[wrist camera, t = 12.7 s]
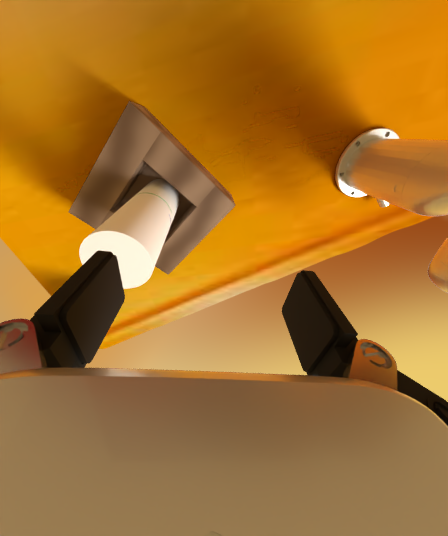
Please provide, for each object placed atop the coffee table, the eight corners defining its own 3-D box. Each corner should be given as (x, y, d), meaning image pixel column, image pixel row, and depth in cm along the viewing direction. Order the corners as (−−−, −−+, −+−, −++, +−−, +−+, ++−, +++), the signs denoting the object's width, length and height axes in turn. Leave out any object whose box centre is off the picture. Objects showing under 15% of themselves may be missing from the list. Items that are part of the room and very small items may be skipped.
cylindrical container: (147, 213, 43) (92, 288, 22) (142, 178, 38) (67, 229, 18) (180, 214, 43) (157, 288, 23) (178, 180, 39) (147, 231, 19)
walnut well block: (231, 194, 42) (235, 205, 36) (173, 255, 50) (168, 274, 44) (144, 107, 33) (129, 100, 27) (90, 199, 41) (68, 211, 34)
